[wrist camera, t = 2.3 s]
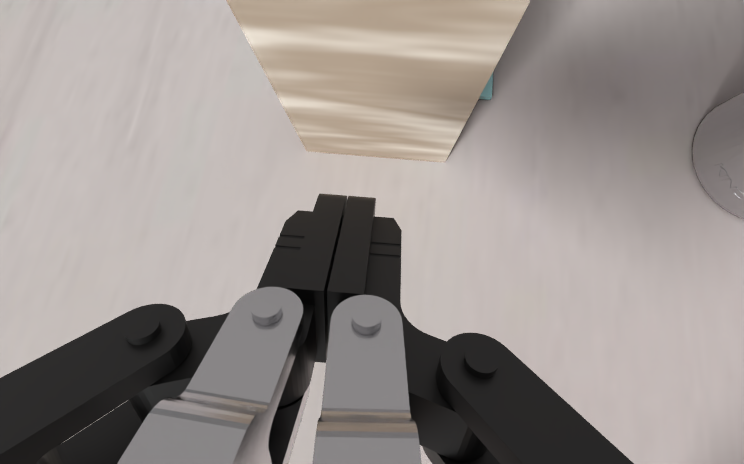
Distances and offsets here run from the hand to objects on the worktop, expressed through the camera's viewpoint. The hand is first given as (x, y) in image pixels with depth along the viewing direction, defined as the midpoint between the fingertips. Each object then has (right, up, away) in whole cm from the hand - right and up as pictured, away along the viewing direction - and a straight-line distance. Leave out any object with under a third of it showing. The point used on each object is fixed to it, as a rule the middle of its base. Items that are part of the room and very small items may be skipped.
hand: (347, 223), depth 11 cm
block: (+1, +7, +18) cm, 19 cm away
